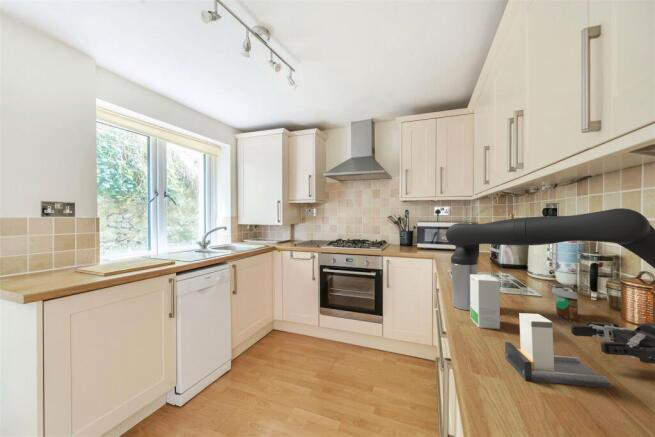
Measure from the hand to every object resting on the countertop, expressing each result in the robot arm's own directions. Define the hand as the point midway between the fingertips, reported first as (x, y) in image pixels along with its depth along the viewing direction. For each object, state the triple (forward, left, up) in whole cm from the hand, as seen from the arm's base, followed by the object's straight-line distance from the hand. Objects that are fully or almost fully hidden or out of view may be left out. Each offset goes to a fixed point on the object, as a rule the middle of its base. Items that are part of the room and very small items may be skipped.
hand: (586, 338), depth 56 cm
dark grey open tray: (0, -7, -8) cm, 10 cm away
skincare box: (-27, -11, -8) cm, 30 cm away
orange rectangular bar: (0, -12, -7) cm, 14 cm away
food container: (-38, +18, -8) cm, 43 cm away
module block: (0, -10, -7) cm, 12 cm away
